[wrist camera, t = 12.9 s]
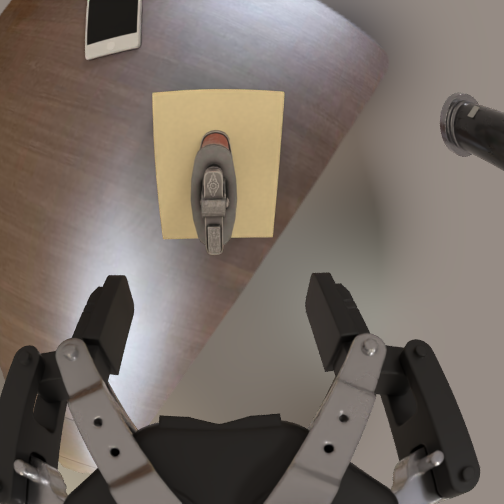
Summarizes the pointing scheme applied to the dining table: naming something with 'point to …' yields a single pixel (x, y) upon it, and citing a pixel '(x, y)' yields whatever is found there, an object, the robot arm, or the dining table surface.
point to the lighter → (214, 191)
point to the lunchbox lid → (242, 146)
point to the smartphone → (112, 27)
